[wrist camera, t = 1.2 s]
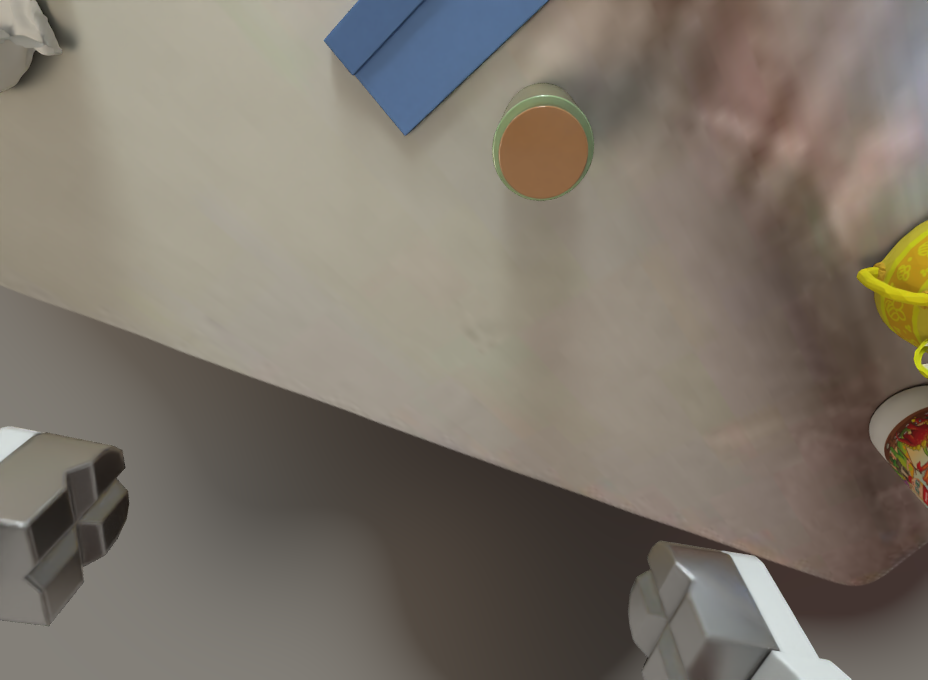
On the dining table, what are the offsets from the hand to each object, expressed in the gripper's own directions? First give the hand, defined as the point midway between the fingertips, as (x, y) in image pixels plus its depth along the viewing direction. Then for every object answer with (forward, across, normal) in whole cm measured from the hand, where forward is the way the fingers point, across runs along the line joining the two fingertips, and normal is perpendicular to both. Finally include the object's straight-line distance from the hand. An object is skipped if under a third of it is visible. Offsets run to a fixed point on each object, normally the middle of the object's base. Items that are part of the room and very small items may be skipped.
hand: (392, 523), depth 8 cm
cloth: (+35, +3, -10) cm, 37 cm away
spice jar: (+35, -5, -4) cm, 35 cm away
